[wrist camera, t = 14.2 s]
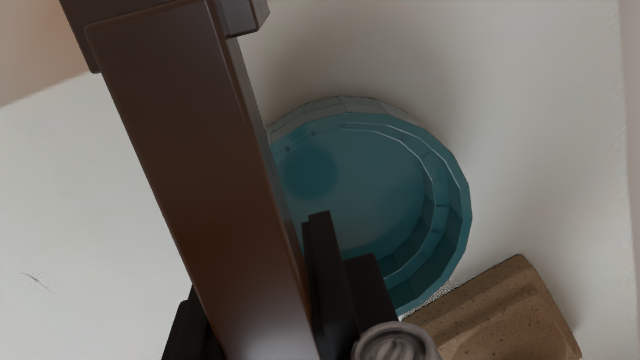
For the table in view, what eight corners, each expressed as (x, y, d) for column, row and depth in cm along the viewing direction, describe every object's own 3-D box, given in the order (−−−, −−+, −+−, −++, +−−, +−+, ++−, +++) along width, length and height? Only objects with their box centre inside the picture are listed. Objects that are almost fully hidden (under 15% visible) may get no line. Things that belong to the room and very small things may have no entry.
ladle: (422, 441, 20) (503, 692, 13) (300, 471, 20) (312, 737, 13) (315, -47, 12) (367, -114, 5) (116, 6, 12) (-118, 16, 5)
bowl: (211, 125, 28) (197, 149, 24) (429, 70, 28) (458, 84, 23) (271, 301, 34) (269, 350, 29) (454, 257, 33) (481, 298, 29)
